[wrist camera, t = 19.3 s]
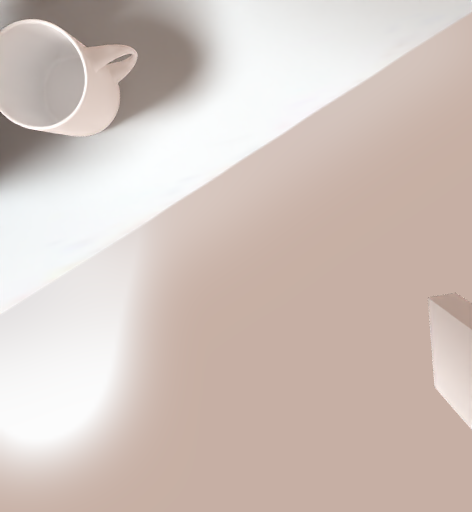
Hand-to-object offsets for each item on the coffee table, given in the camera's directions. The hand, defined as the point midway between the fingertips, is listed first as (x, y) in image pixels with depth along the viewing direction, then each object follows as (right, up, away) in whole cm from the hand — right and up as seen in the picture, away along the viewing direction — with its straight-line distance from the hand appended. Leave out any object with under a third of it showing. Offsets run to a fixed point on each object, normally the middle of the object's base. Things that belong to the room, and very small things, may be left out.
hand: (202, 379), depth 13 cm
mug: (-14, +21, +35) cm, 43 cm away
